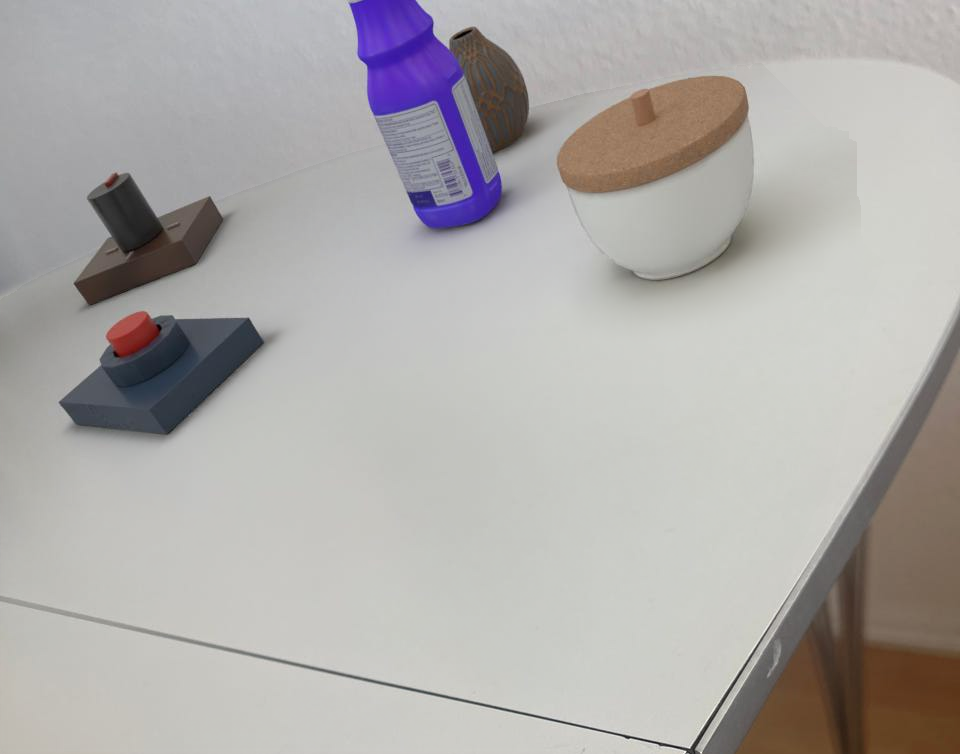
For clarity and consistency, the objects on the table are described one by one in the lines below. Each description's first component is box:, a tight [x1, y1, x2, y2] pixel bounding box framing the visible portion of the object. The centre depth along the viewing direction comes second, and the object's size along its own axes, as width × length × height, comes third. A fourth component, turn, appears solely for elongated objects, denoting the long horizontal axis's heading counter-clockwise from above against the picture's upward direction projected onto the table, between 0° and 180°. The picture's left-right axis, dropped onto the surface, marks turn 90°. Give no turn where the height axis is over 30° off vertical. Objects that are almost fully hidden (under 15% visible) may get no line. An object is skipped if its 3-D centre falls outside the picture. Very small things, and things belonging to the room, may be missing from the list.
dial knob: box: [86, 171, 163, 252], centre depth 97 cm, size 5×5×6 cm
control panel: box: [73, 195, 224, 306], centre depth 100 cm, size 13×10×3 cm
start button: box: [105, 310, 160, 357], centre depth 74 cm, size 4×4×2 cm
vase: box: [448, 26, 530, 152], centre depth 83 cm, size 7×7×9 cm
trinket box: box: [556, 75, 755, 281], centre depth 57 cm, size 11×11×9 cm
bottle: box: [347, 0, 503, 229], centre depth 72 cm, size 7×6×17 cm
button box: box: [58, 314, 265, 435], centre depth 76 cm, size 13×11×4 cm
